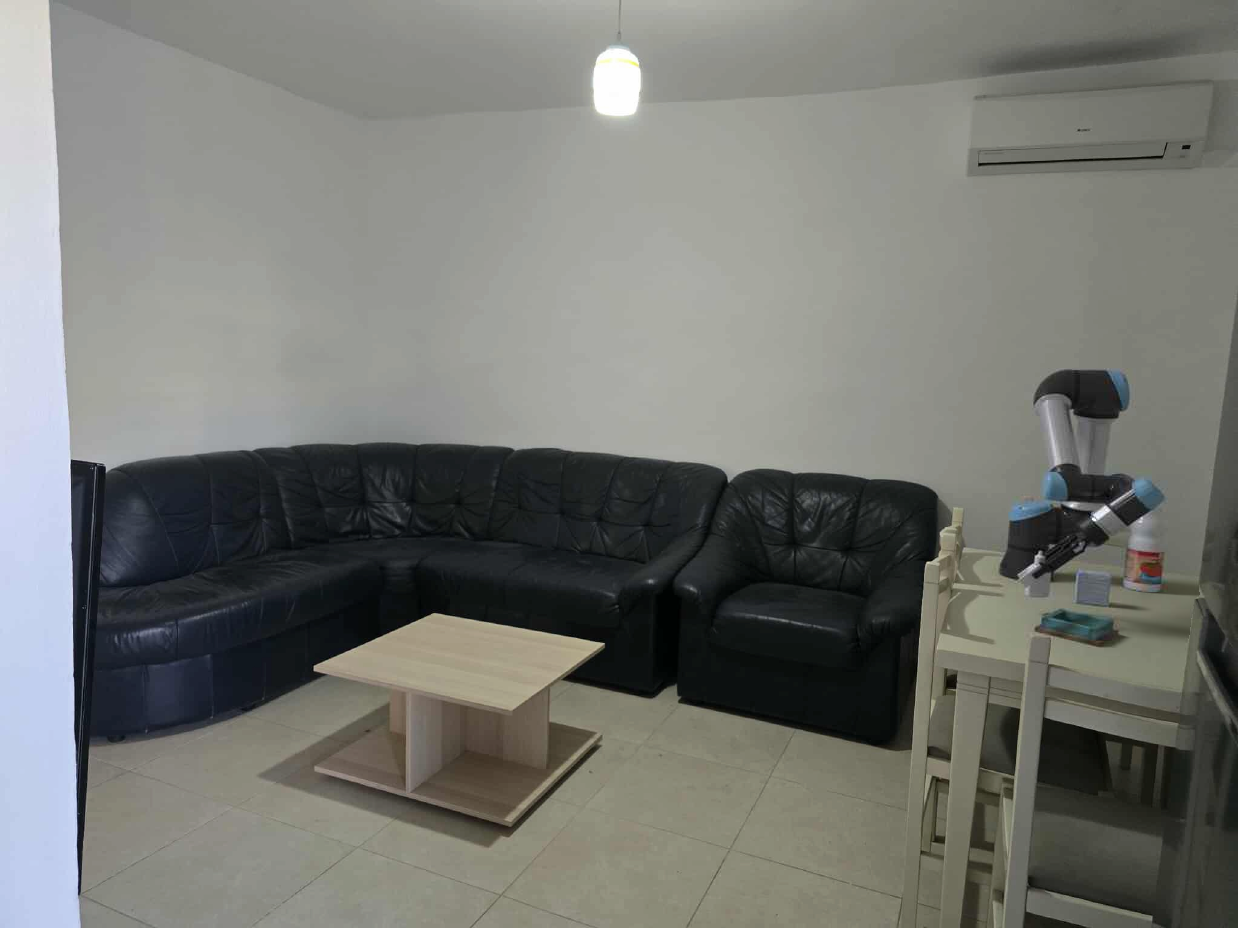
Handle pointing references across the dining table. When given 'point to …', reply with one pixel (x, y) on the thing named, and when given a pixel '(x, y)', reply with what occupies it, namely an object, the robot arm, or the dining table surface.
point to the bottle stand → (1077, 627)
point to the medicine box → (1092, 588)
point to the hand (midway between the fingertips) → (1021, 581)
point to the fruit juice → (1145, 553)
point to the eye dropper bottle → (1039, 581)
